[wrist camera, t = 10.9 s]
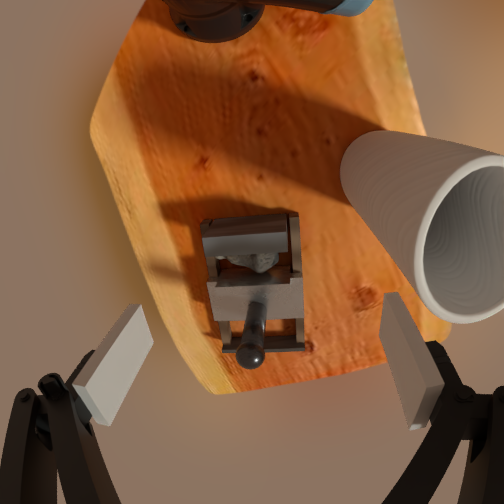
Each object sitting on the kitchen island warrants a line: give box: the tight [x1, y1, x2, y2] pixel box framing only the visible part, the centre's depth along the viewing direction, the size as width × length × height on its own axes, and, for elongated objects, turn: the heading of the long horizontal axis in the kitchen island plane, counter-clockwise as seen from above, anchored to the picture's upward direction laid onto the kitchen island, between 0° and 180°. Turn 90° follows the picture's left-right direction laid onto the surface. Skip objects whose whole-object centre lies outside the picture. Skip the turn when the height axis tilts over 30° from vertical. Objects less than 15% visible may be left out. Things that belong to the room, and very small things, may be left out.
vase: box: [340, 130, 504, 324], centre depth 33 cm, size 14×14×32 cm
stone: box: [215, 253, 279, 273], centre depth 53 cm, size 10×5×8 cm
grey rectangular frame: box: [200, 213, 305, 353], centre depth 53 cm, size 26×16×9 cm, turn 6°
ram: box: [207, 265, 304, 369], centre depth 49 cm, size 8×16×18 cm, turn 96°
